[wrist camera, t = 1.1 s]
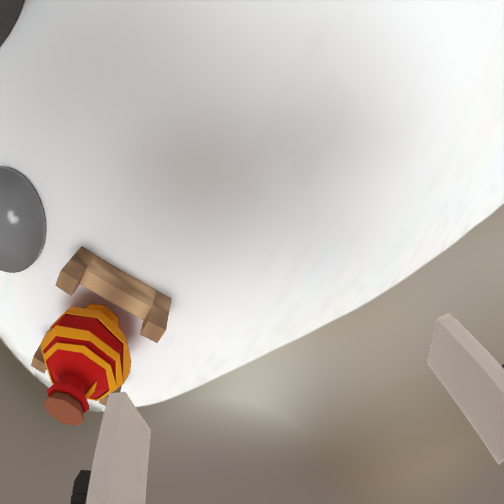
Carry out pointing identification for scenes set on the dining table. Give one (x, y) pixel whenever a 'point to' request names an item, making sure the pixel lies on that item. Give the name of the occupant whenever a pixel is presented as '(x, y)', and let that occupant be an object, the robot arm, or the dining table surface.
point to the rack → (113, 296)
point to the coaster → (19, 222)
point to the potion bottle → (83, 360)
